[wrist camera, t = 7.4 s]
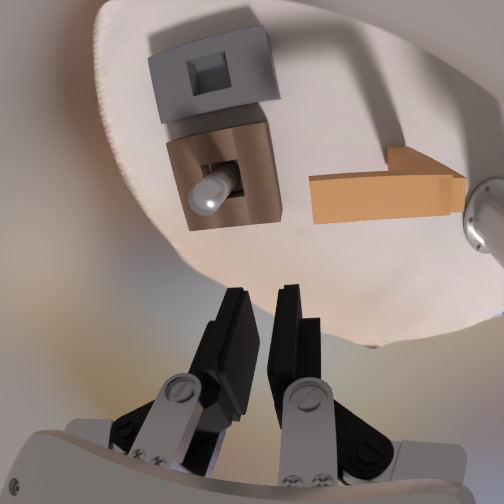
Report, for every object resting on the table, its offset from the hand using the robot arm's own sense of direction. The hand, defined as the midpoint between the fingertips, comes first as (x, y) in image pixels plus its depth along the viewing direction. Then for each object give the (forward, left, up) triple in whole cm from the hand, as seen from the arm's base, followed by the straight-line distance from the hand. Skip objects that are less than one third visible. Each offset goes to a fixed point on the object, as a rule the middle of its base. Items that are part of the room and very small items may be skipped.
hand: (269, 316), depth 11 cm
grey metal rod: (+8, 0, -26) cm, 27 cm away
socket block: (+8, 0, -27) cm, 28 cm away
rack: (+7, -13, -27) cm, 31 cm away
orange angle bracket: (-9, 0, -27) cm, 28 cm away
